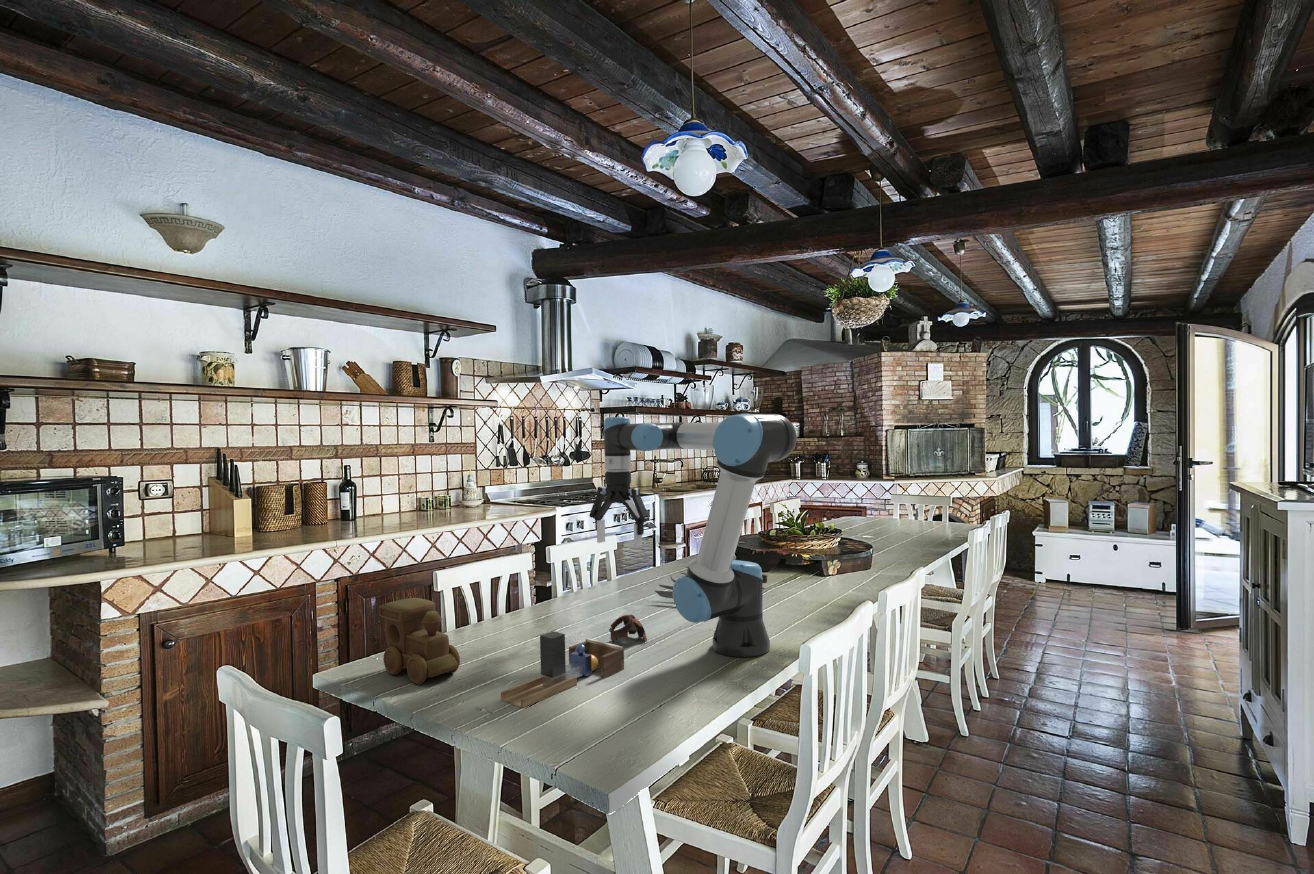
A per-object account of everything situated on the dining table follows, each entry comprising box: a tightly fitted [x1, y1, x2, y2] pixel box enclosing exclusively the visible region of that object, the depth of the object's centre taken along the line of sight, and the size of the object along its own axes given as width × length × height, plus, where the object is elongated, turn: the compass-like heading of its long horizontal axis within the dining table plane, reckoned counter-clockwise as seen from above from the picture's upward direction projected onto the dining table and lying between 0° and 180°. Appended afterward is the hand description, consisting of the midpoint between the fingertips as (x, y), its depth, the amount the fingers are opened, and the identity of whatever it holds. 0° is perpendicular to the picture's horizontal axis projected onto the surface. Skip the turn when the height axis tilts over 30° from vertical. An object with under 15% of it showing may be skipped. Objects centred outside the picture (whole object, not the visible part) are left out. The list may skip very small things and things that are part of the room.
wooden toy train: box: [378, 597, 461, 685], centre depth 169 cm, size 20×11×17 cm, turn 52°
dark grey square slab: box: [539, 631, 593, 687], centre depth 162 cm, size 5×12×12 cm, turn 142°
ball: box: [591, 655, 599, 672], centre depth 168 cm, size 4×4×4 cm
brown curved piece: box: [608, 614, 648, 643], centre depth 191 cm, size 12×10×8 cm
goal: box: [568, 637, 625, 679], centre depth 170 cm, size 12×7×6 cm, turn 52°
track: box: [500, 675, 578, 709], centre depth 155 cm, size 7×16×2 cm, turn 142°
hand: (619, 544), depth 198 cm, fingers open, 13 cm apart
